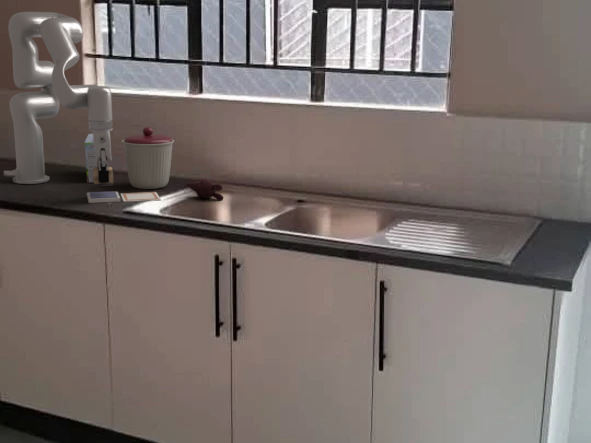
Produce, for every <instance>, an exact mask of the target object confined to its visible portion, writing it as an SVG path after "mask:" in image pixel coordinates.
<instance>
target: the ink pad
mask: <svg viewBox="0 0 591 443" xmlns="http://www.w3.org/2000/svg"><path fill="white" fill-rule="evenodd" d="M86 197H87V201H88V204H96V203H115V202H116V203H117V202H121V195H120V194H119V192H118V191H114V190H113V191H94V192H93V191H91V192H86Z"/></svg>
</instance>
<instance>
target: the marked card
mask: <svg viewBox="0 0 591 443" xmlns="http://www.w3.org/2000/svg"><path fill="white" fill-rule="evenodd" d="M120 198H121V200H122V201H123V203H130V202H134V203H135V202H149V201H150V200H158V201H162V199H161V197H160V196H159V194H158V192H156V191H151V192H150V191H149V192H127V193H126V192H125V193H123V192H122V193H120ZM150 202H151V201H150Z"/></svg>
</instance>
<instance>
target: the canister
mask: <svg viewBox="0 0 591 443" xmlns="http://www.w3.org/2000/svg"><path fill="white" fill-rule="evenodd" d="M121 143H122V144H123V148H124V156H125V162H126V170H127V174H128V176H127V177H128V180H129V183H130V185H131V186H132V187H133V188H136V189H141V190H155V189H156V190H157V189H160V188H161V189H162V188H164V187H166V186H167V185H168V183H169V179H170V176H171V175H170V174H171V173H170V172H171V167H172V166H171V164H172V154H173V144H174V143H175V140H174V139H173V138H171V136H168V135H164V134H159V133H158V134H156V133H154V129H153V128H152V127H149V126H147V127H144V128H143V130H142V133H140V134H132V135H129V136H126V137H125V138H123V139H122V140H121Z"/></svg>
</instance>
